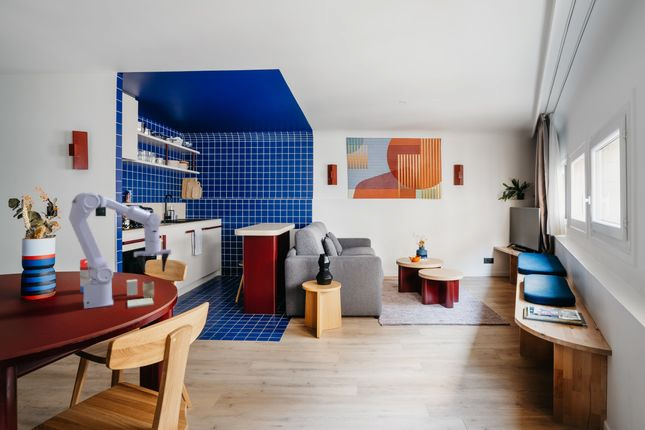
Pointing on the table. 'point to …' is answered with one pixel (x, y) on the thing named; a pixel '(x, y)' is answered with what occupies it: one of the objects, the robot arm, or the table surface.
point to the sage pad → (140, 302)
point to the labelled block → (148, 289)
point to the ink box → (83, 274)
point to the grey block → (132, 287)
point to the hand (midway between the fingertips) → (153, 271)
